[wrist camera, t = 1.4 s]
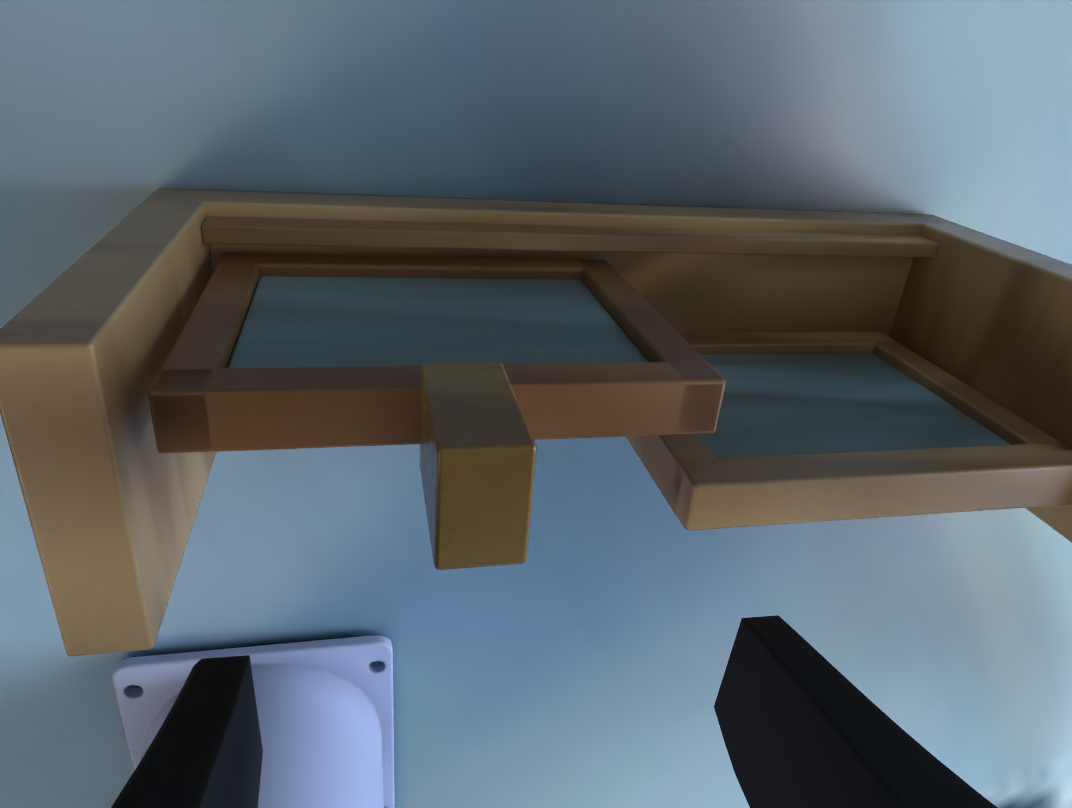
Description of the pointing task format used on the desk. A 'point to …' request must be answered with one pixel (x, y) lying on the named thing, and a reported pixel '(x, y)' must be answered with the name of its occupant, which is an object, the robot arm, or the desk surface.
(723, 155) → the desk surface
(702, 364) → the sash
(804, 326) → the window frame
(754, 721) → the robot arm
